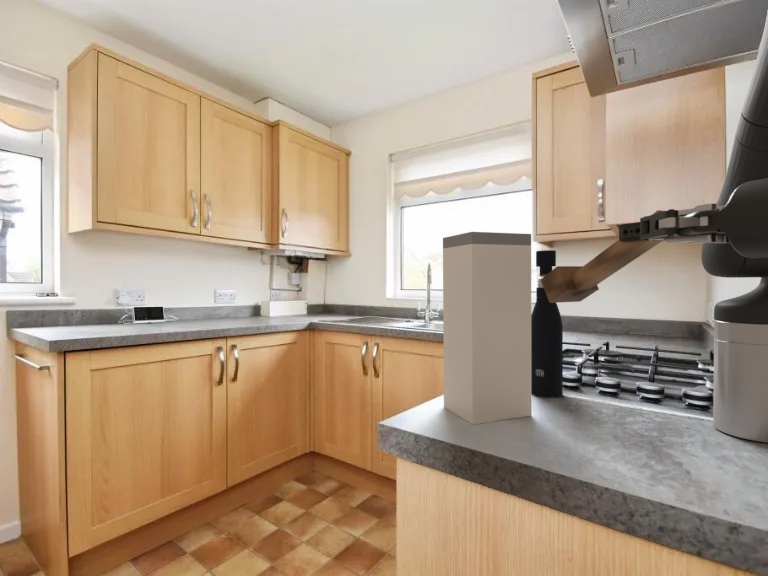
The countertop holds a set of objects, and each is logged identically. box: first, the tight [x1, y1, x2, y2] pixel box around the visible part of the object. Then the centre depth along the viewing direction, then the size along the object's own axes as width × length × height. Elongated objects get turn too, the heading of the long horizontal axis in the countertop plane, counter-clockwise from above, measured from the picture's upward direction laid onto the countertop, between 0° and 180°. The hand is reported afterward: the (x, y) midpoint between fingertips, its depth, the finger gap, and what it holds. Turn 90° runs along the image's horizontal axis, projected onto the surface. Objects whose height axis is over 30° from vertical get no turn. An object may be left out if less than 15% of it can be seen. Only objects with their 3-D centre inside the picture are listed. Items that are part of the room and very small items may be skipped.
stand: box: [442, 231, 533, 425], centre depth 74 cm, size 10×12×32 cm
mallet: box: [540, 209, 665, 303], centre depth 55 cm, size 19×6×4 cm, turn 20°
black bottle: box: [531, 249, 564, 399], centre depth 85 cm, size 6×6×30 cm
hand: (629, 233), depth 52 cm, fingers closed on mallet, 2 cm apart
